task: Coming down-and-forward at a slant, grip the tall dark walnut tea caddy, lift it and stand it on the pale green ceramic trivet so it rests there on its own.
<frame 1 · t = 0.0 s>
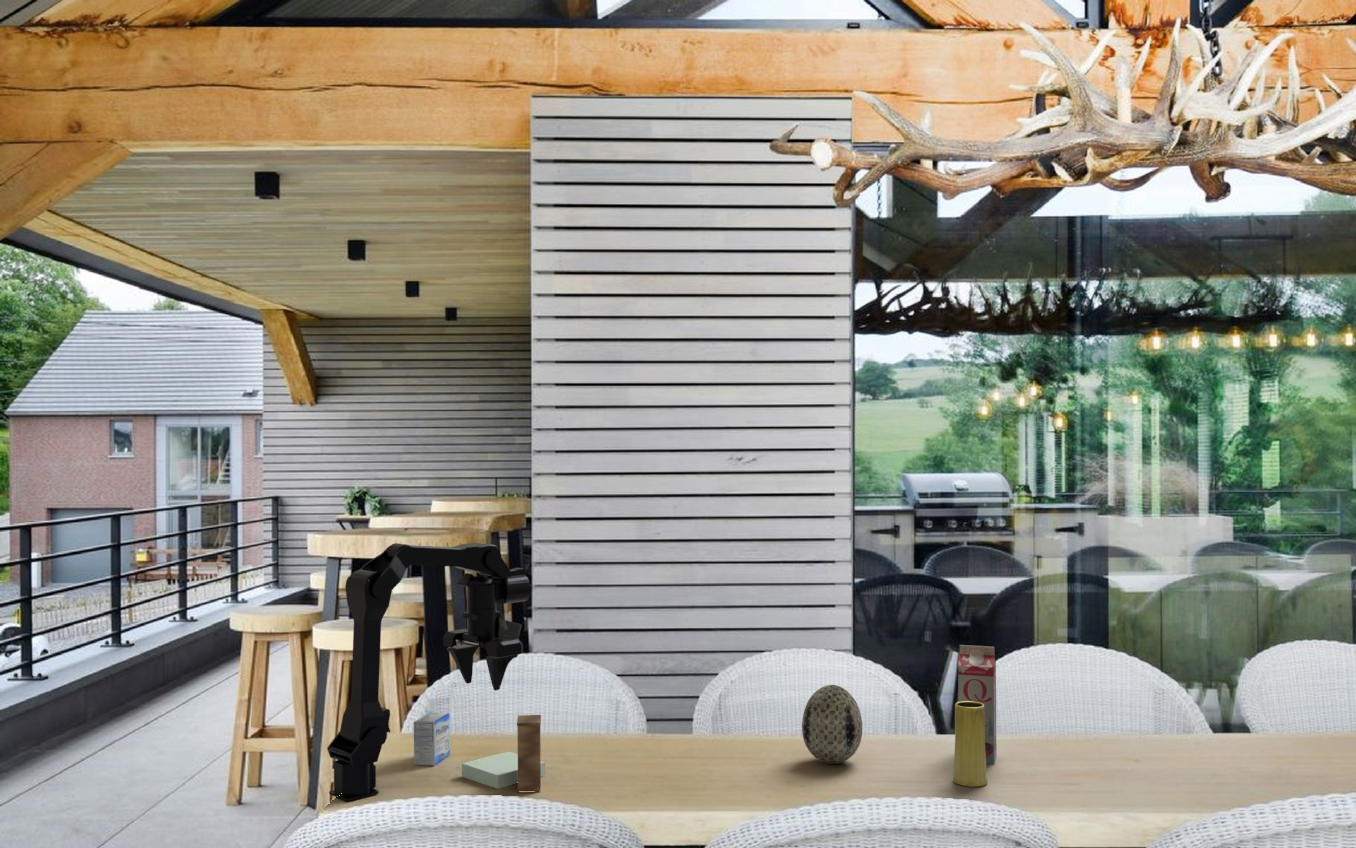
hand: (482, 686, 230), 15 cm above the table, tool pointing down, fingers open, 9 cm apart
vase: (970, 783, 214), on the table
juice carton: (977, 759, 230), on the table
trivet: (503, 776, 220), on the table
medicine box: (432, 761, 231), on the table
decorative egg: (832, 763, 227), on the table
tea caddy: (529, 787, 213), on the table
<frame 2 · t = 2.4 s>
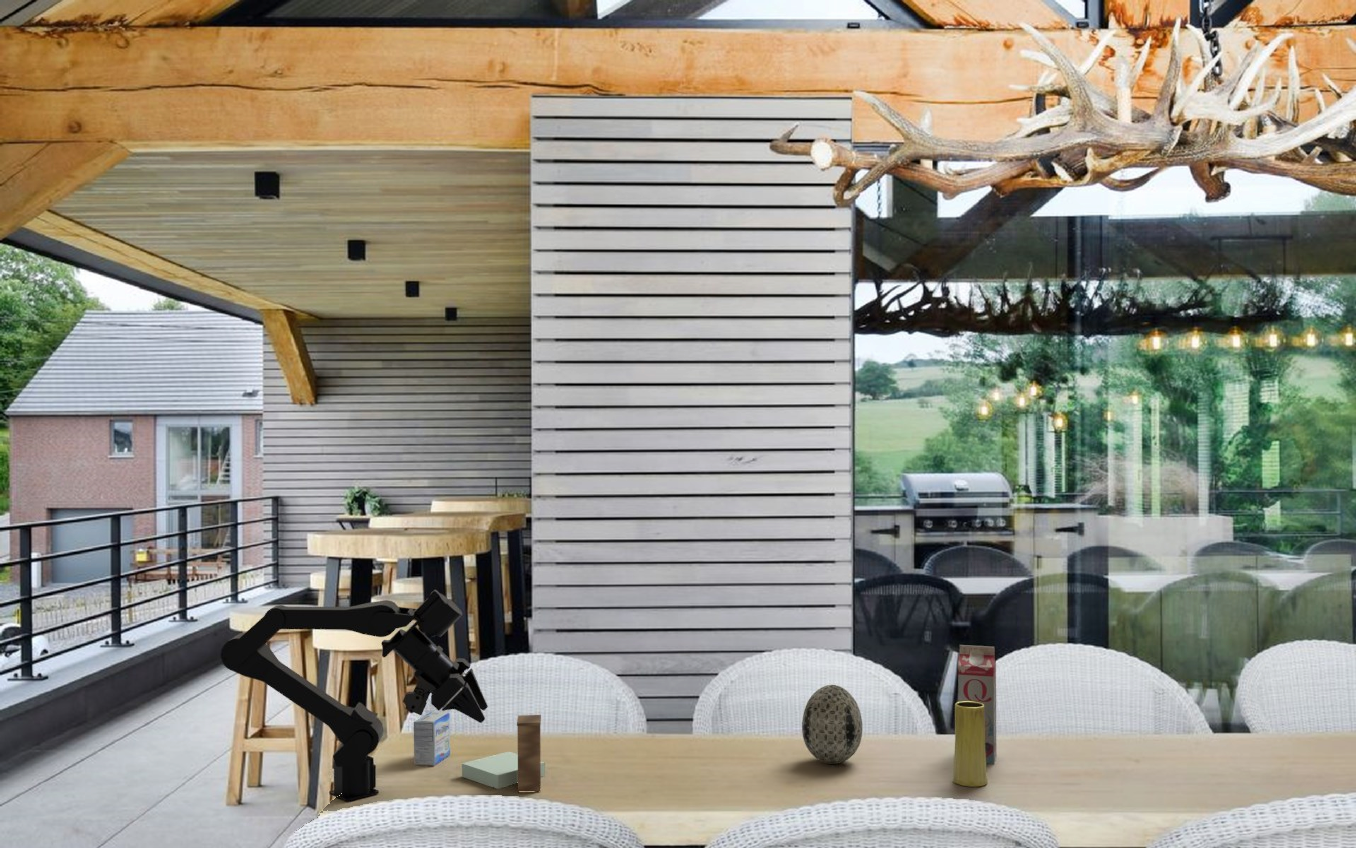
hand: (484, 714, 212), 14 cm above the table, tool tilted 45°, fingers open, 9 cm apart
nothing on the table moved.
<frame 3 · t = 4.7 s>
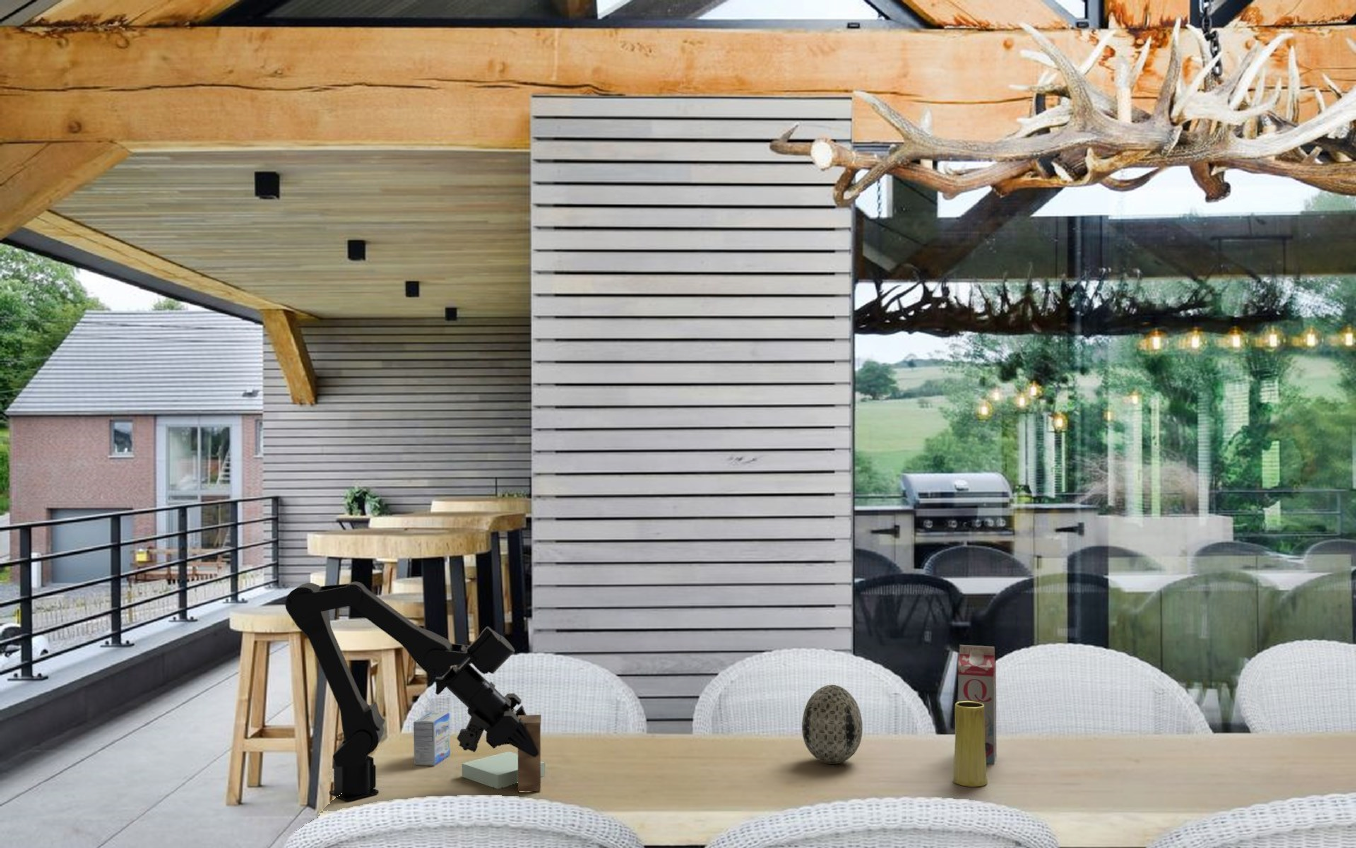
hand: (537, 751, 213), 7 cm above the table, tool tilted 45°, fingers closed on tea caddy, 5 cm apart
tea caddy: (529, 787, 213), on the table, touching gripper
everything else where it was.
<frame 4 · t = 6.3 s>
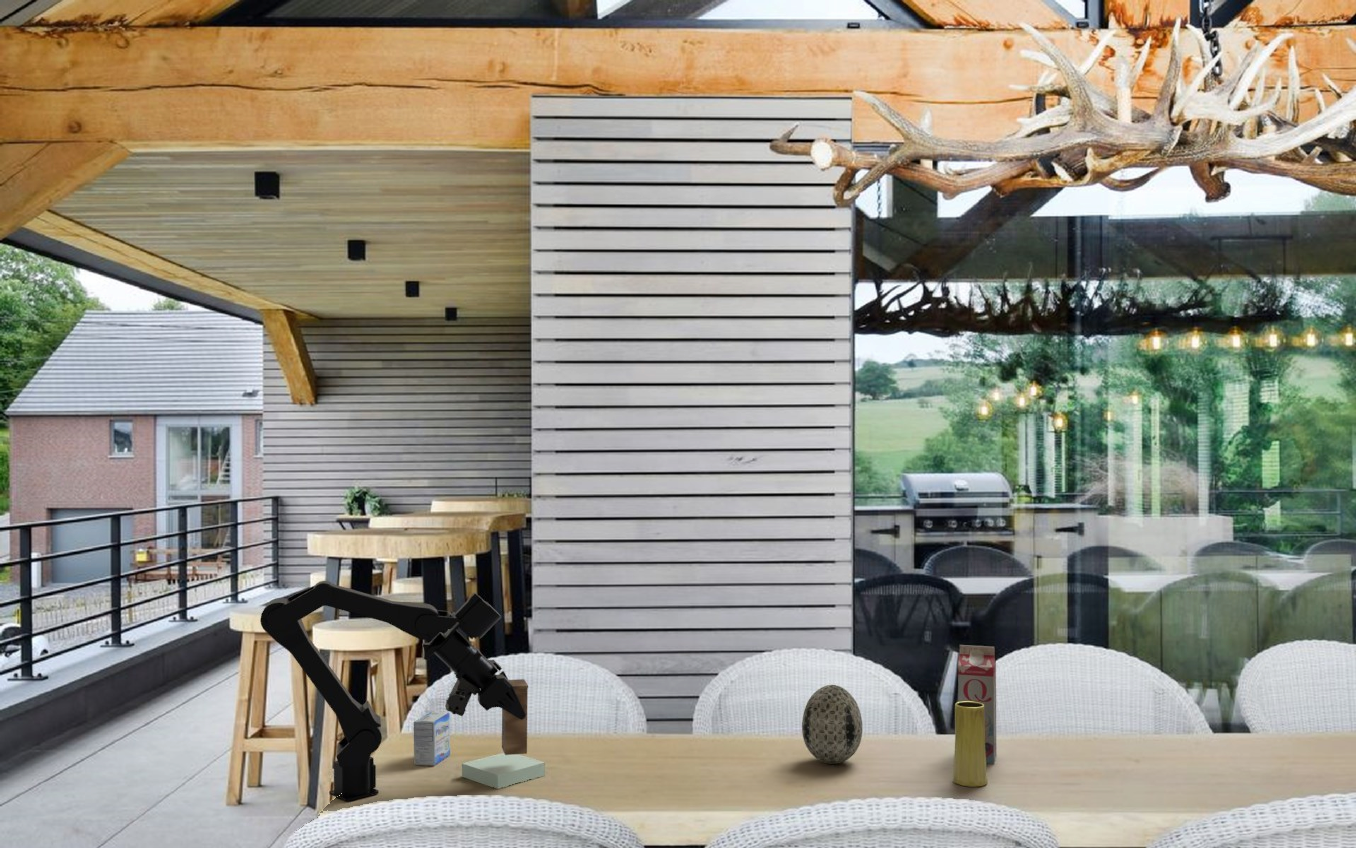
hand: (521, 714, 218), 12 cm above the table, tool tilted 45°, fingers closed on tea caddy, 5 cm apart
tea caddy: (514, 750, 217), point 6 cm above the table, touching gripper
everything else where it was.
when the fingers open (9 cm above the table, at t = 7.7 s): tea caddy stays where it is, resting on trivet.
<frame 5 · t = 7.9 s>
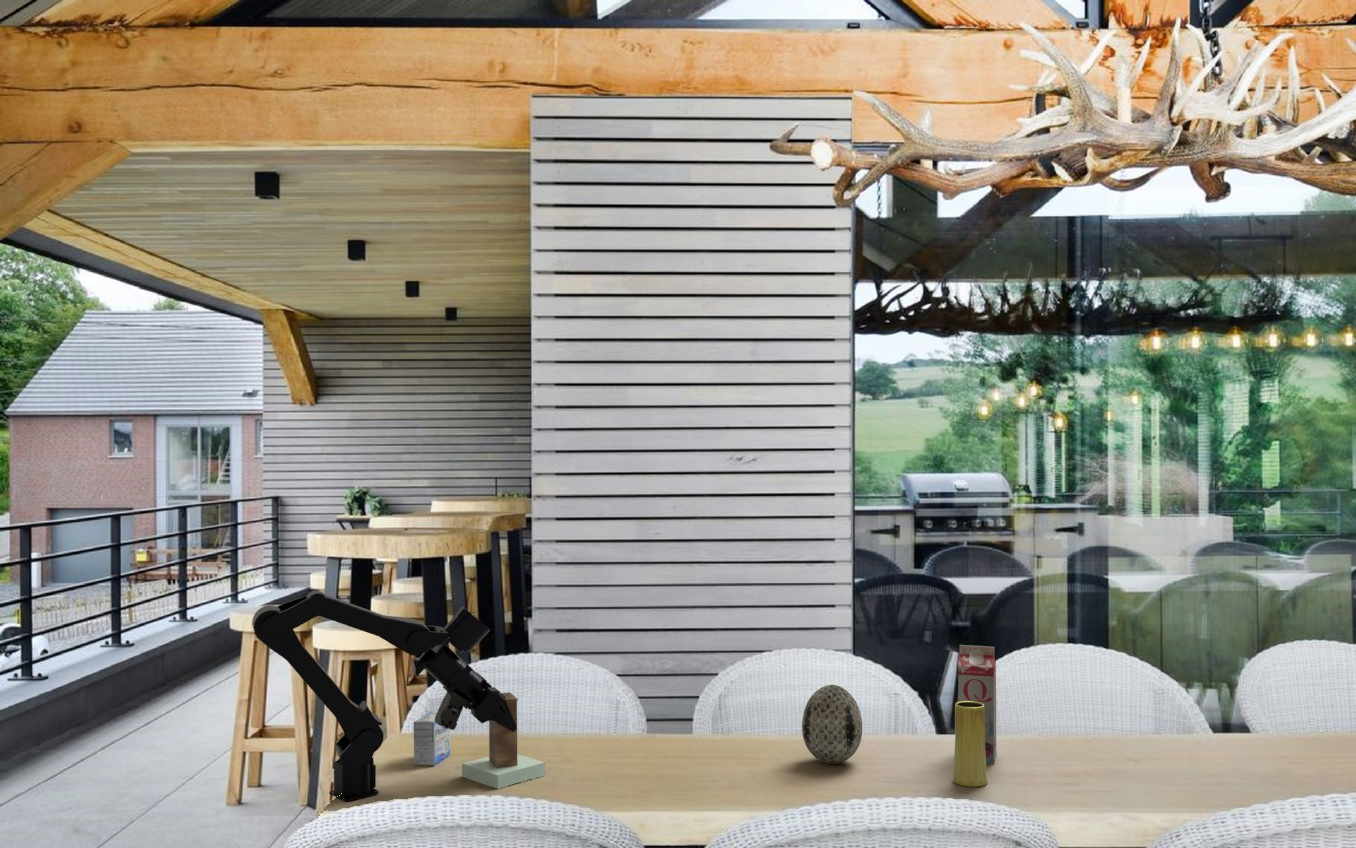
hand: (510, 725, 221), 9 cm above the table, tool tilted 45°, fingers open, 7 cm apart
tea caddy: (503, 763, 220), point 3 cm above the table, touching trivet
everything else where it was.
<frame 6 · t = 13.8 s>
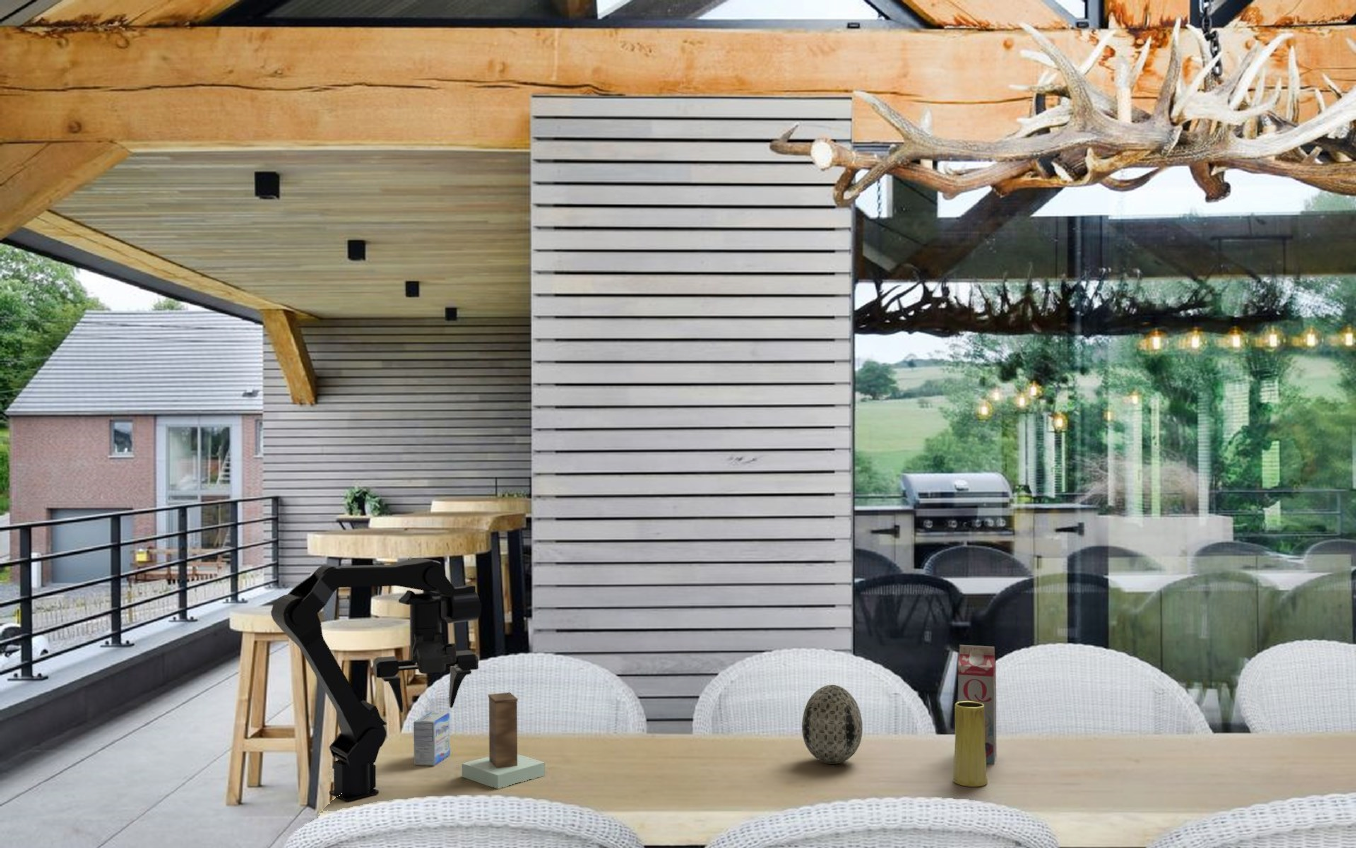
hand: (426, 709, 218), 13 cm above the table, tool pointing down, fingers open, 9 cm apart
nothing on the table moved.
at the end: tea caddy inside the target area on the trivet (0.1 cm from its centre), point 2.5 cm above the trivet's base; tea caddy tilted 0°; the gripper is holding nothing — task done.
